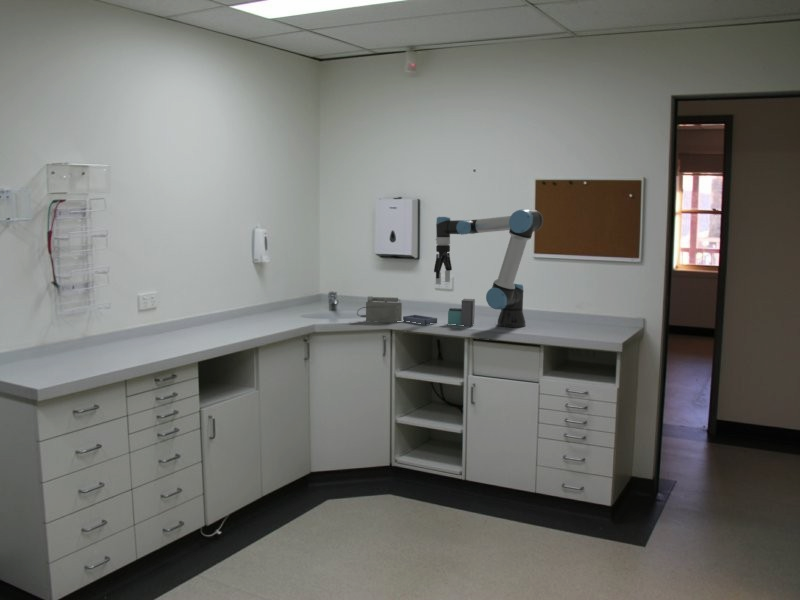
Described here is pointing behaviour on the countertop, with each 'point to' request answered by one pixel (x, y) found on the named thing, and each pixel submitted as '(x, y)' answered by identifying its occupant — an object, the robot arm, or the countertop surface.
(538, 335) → the countertop surface
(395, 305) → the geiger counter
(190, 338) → the countertop surface
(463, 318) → the grey upright block
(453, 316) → the teal-edged grey panel
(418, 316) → the tray
